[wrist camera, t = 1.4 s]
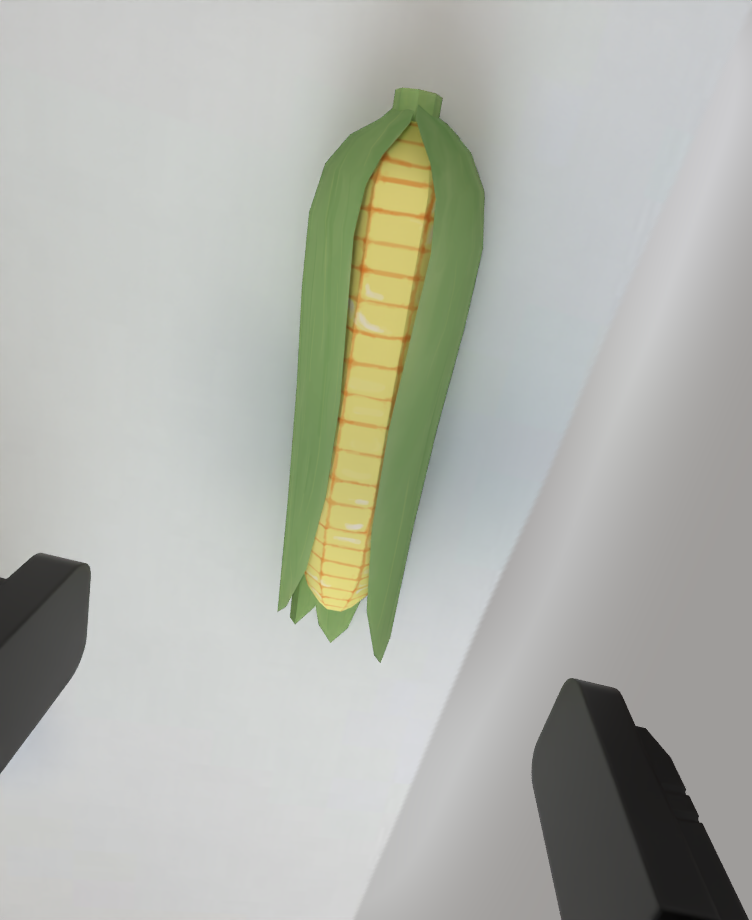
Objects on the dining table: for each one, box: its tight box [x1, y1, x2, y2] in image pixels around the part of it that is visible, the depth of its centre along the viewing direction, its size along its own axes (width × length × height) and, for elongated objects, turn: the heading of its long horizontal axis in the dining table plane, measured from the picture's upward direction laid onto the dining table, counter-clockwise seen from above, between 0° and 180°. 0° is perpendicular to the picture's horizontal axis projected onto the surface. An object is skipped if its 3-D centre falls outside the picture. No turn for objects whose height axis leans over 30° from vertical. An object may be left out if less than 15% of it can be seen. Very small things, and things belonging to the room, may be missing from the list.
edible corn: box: [278, 88, 485, 663], centre depth 20 cm, size 5×20×5 cm, turn 171°
